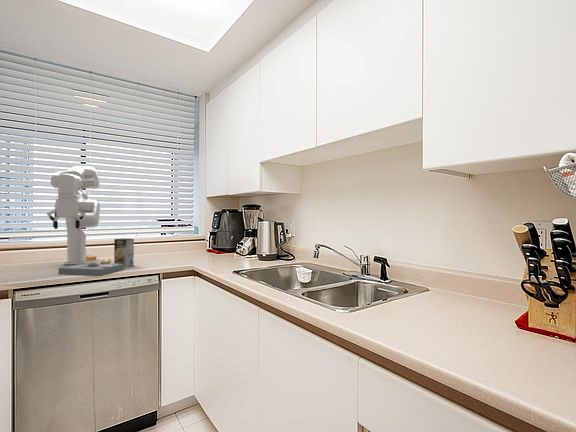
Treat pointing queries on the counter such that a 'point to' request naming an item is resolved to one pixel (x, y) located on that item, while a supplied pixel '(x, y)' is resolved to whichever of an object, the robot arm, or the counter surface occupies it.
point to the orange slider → (90, 258)
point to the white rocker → (92, 261)
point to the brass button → (106, 261)
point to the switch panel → (91, 269)
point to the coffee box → (124, 251)
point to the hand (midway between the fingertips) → (66, 228)
